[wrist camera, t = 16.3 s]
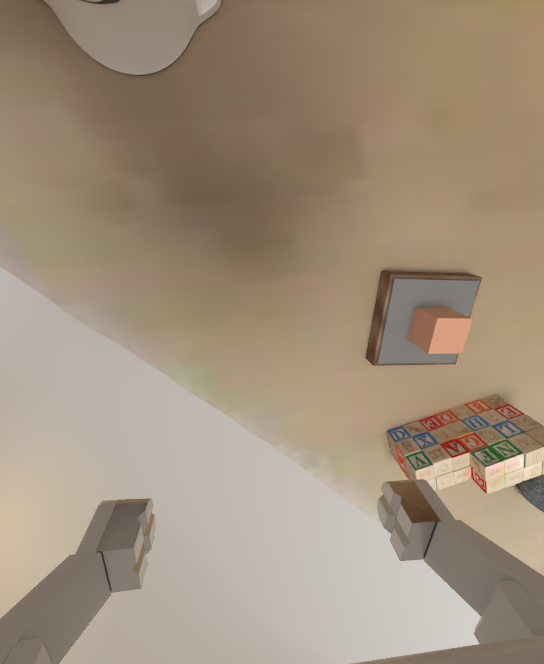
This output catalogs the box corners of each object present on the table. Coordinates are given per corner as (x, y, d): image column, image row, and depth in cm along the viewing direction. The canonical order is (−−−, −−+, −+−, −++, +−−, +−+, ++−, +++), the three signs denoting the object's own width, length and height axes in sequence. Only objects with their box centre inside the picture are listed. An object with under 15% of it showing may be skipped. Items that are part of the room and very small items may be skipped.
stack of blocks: (390, 454, 56) (430, 514, 45) (385, 430, 54) (426, 487, 42) (495, 419, 56) (562, 470, 45) (495, 393, 54) (566, 440, 42)
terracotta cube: (414, 307, 42) (437, 318, 37) (446, 307, 42) (472, 318, 38) (407, 339, 44) (428, 353, 39) (438, 339, 44) (461, 353, 40)
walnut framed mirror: (381, 271, 42) (391, 275, 40) (468, 273, 44) (484, 277, 41) (365, 358, 47) (374, 366, 45) (444, 357, 49) (457, 365, 46)
